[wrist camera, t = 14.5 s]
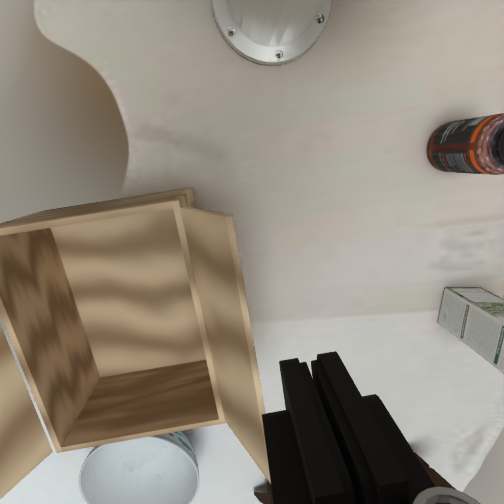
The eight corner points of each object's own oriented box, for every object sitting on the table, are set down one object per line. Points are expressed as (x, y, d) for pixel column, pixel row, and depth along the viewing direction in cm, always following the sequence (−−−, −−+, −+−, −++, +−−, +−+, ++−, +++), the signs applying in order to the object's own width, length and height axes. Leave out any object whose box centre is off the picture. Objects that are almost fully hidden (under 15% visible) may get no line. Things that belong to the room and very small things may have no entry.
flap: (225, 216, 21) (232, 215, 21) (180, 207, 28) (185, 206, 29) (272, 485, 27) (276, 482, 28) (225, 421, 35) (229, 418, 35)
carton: (42, 210, 39) (-33, 233, 28) (192, 187, 40) (178, 200, 29) (98, 379, 46) (56, 452, 35) (225, 357, 47) (225, 422, 35)
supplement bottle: (456, 179, 42) (535, 187, 31) (417, 160, 41) (485, 162, 30) (481, 133, 41) (574, 125, 30) (441, 112, 40) (522, 97, 29)
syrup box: (436, 323, 48) (521, 392, 34) (443, 285, 46) (537, 341, 32) (473, 323, 48) (572, 390, 34) (482, 285, 47) (590, 340, 33)
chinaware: (79, 427, 48) (52, 476, 41) (161, 374, 47) (149, 415, 40) (144, 488, 53) (131, 542, 45) (222, 441, 51) (221, 490, 44)
